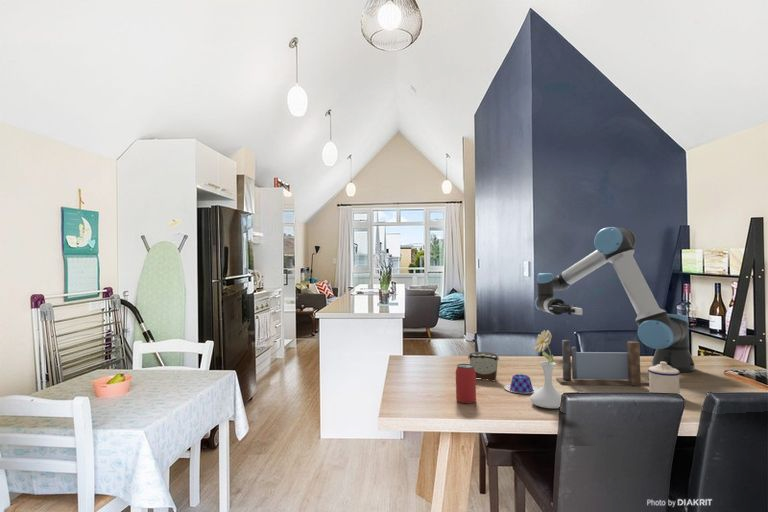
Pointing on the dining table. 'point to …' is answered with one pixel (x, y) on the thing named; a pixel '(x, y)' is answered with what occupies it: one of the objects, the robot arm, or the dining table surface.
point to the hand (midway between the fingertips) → (580, 311)
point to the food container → (484, 364)
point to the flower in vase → (546, 376)
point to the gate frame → (633, 379)
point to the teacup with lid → (663, 378)
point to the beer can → (465, 383)
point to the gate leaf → (599, 365)
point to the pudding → (521, 384)
